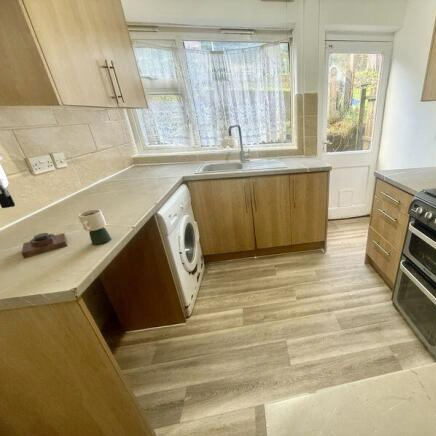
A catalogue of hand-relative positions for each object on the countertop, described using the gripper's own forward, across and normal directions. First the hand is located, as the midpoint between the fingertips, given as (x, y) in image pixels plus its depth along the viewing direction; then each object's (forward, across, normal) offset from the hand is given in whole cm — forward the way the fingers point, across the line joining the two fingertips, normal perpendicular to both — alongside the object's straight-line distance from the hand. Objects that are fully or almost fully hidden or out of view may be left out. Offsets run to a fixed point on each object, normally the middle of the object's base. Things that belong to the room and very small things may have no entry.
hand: (8, 206), depth 89 cm
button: (+13, +6, +5) cm, 15 cm away
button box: (+17, +6, +6) cm, 18 cm away
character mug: (+16, +16, +22) cm, 32 cm away
